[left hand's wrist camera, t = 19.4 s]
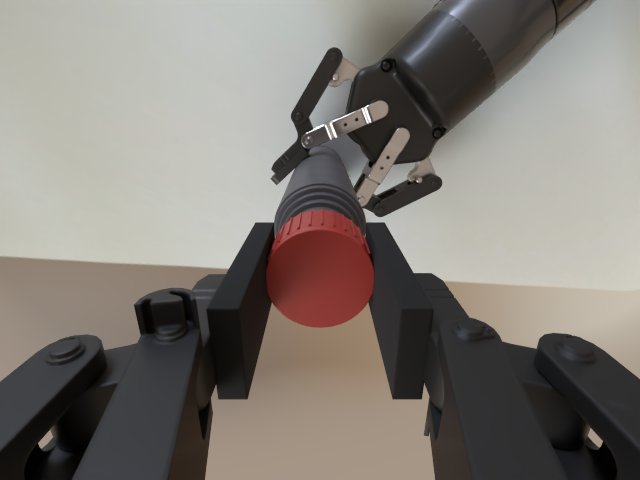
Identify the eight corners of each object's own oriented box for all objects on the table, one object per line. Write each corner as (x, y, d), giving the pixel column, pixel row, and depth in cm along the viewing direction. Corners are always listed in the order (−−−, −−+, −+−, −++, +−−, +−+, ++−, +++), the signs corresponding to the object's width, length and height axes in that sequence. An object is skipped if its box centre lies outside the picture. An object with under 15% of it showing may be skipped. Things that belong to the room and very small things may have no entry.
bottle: (309, 200, 36) (291, 342, 14) (288, 158, 34) (233, 243, 12) (350, 181, 35) (401, 299, 13) (331, 137, 33) (353, 189, 12)
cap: (256, 269, 15) (244, 299, 12) (301, 189, 13) (297, 206, 11) (336, 309, 15) (338, 345, 13) (386, 237, 14) (399, 262, 12)
